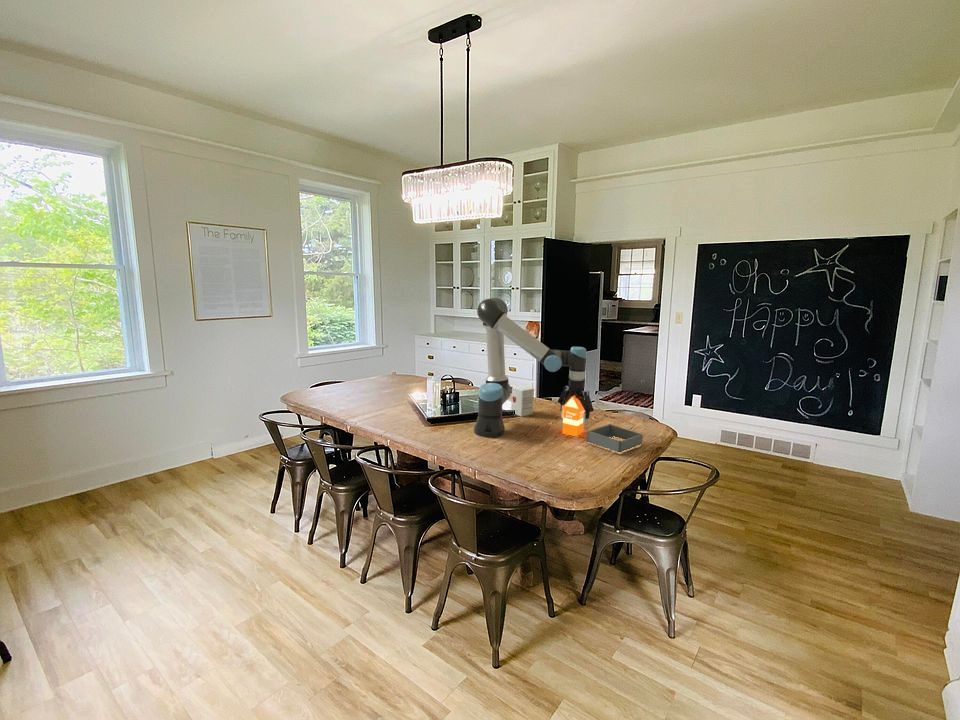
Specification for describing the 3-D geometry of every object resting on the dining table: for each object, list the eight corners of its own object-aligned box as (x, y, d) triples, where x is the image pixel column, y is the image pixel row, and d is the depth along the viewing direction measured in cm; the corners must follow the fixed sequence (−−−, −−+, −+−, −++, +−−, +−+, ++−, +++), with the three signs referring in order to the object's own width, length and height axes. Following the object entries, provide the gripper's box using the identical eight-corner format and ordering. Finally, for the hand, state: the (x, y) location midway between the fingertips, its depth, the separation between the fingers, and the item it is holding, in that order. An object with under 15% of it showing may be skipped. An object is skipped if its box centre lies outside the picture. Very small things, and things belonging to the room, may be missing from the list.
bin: (619, 455, 199) (620, 442, 197) (586, 443, 212) (587, 430, 211) (641, 446, 210) (642, 434, 208) (609, 435, 223) (610, 424, 222)
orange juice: (583, 433, 226) (586, 394, 222) (576, 437, 218) (579, 397, 215) (568, 429, 230) (571, 391, 226) (561, 434, 223) (564, 395, 219)
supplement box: (510, 412, 255) (511, 386, 252) (522, 410, 260) (523, 384, 257) (521, 416, 248) (522, 390, 245) (533, 414, 253) (534, 388, 250)
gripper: (603, 383, 212) (599, 426, 216) (562, 373, 231) (559, 413, 235) (593, 385, 207) (590, 429, 211) (552, 375, 226) (549, 415, 230)
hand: (574, 421), depth 223 cm, fingers open, 13 cm apart
